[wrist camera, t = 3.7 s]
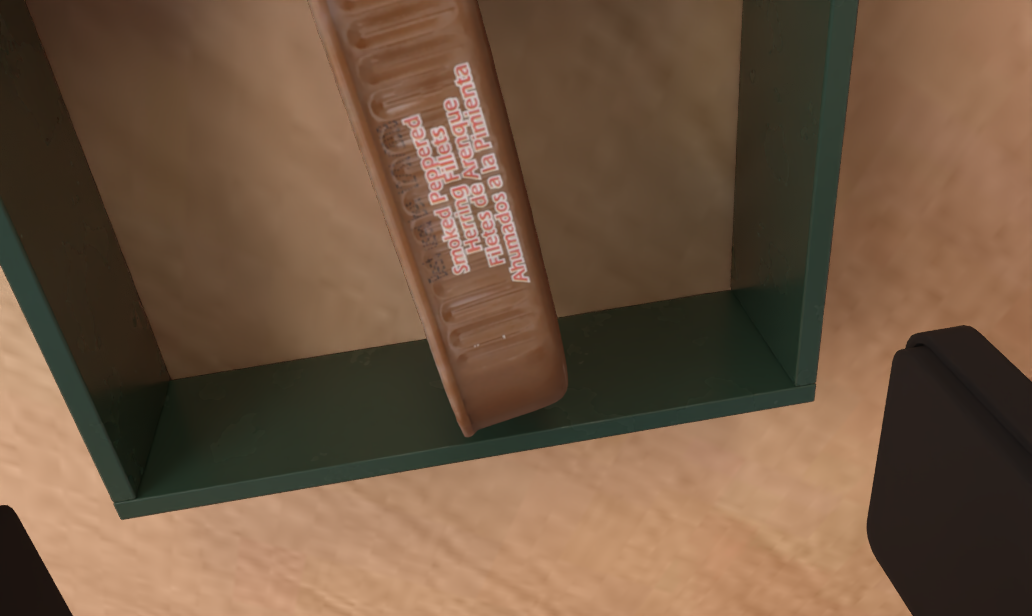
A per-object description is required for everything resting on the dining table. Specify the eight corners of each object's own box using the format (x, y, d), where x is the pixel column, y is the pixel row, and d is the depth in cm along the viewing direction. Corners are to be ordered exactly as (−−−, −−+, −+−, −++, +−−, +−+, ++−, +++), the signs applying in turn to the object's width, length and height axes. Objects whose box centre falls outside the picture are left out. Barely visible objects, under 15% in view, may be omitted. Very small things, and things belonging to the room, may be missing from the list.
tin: (232, -277, 18) (156, -280, 11) (382, -318, 18) (396, -347, 11) (433, 313, 27) (461, 521, 20) (536, 285, 27) (600, 483, 20)
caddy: (-146, -354, 17) (-308, -381, 13) (789, -450, 18) (917, -503, 14) (157, 398, 27) (120, 521, 23) (747, 302, 28) (814, 401, 24)
